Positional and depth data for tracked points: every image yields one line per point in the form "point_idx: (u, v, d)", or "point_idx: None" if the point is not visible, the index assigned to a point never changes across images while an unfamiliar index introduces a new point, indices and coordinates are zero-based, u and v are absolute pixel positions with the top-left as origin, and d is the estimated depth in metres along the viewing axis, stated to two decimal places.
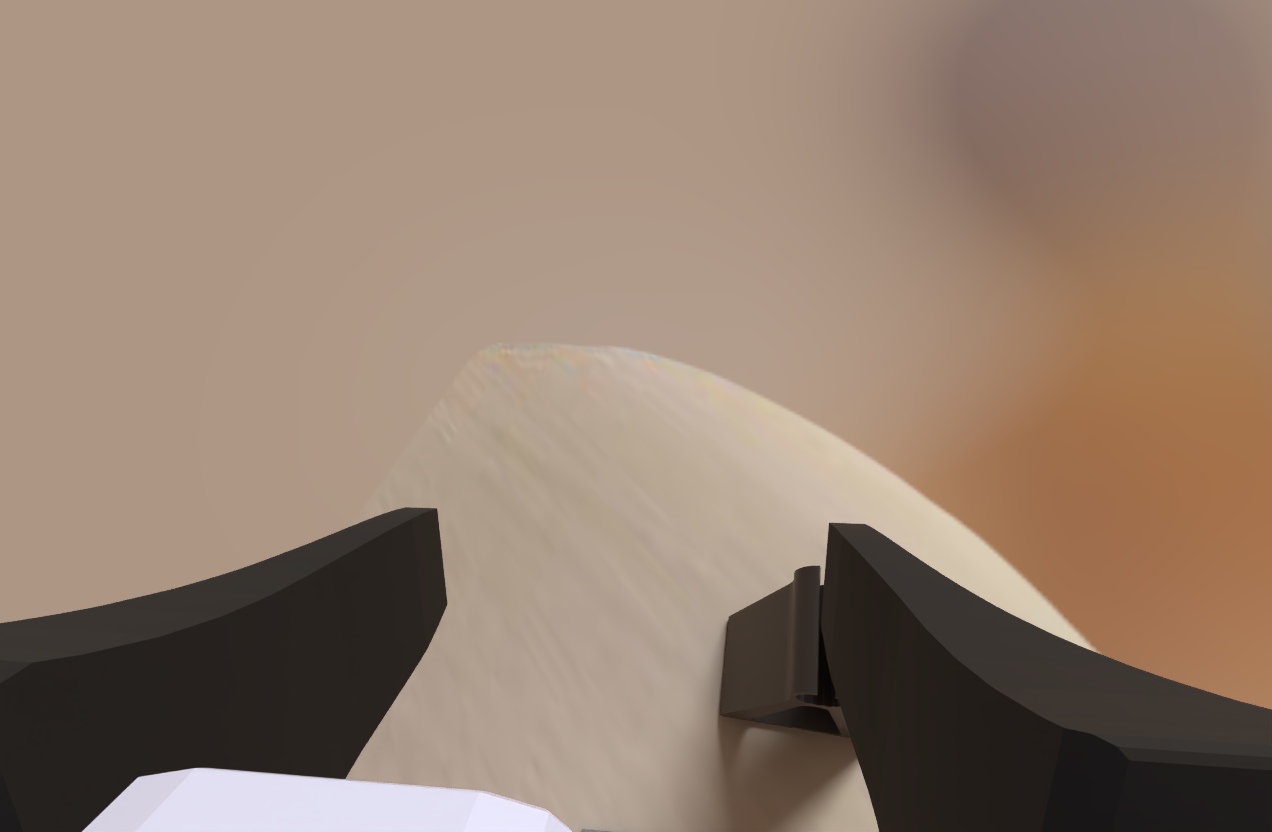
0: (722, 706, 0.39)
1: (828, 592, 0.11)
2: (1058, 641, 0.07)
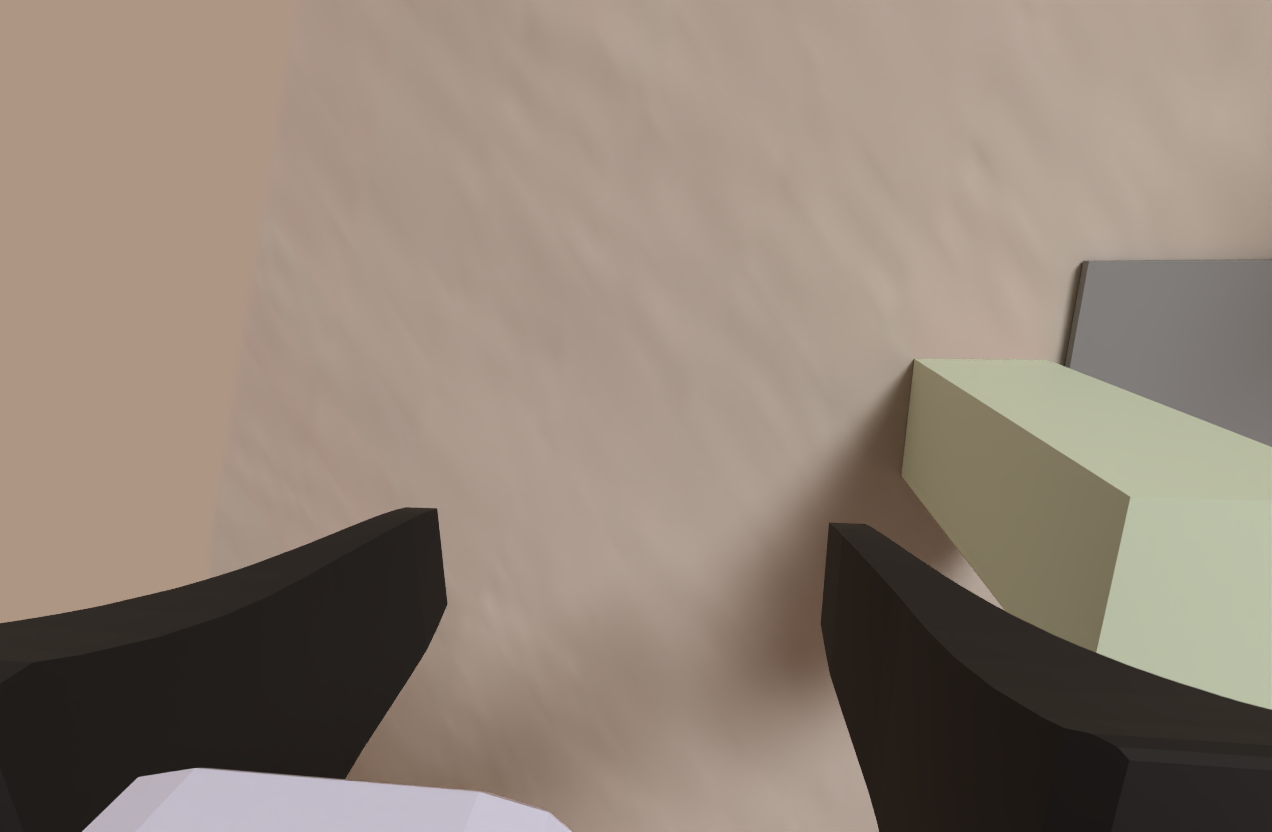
0: None
1: (828, 592, 0.11)
2: (1058, 641, 0.07)
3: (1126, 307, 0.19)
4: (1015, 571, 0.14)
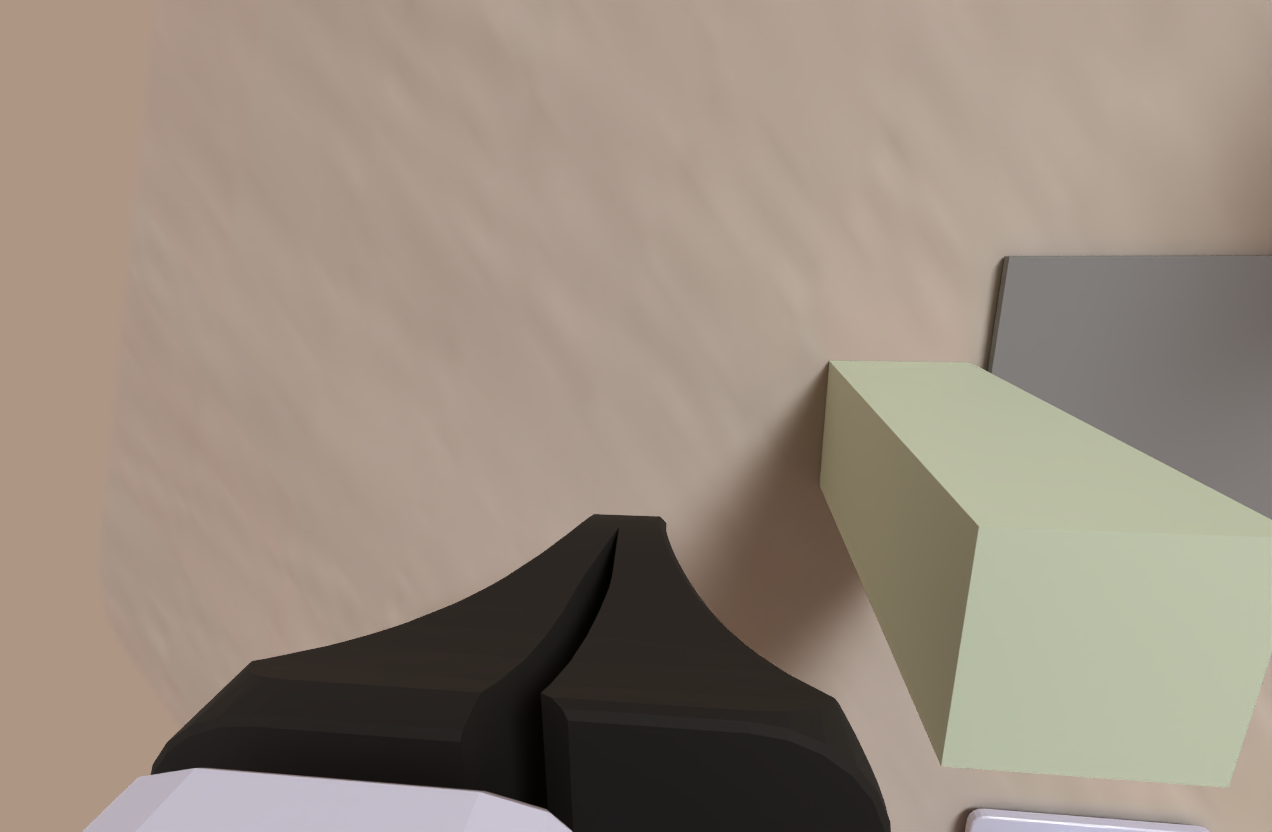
0: None
1: None
2: (711, 622, 0.07)
3: (1050, 306, 0.18)
4: (894, 599, 0.12)
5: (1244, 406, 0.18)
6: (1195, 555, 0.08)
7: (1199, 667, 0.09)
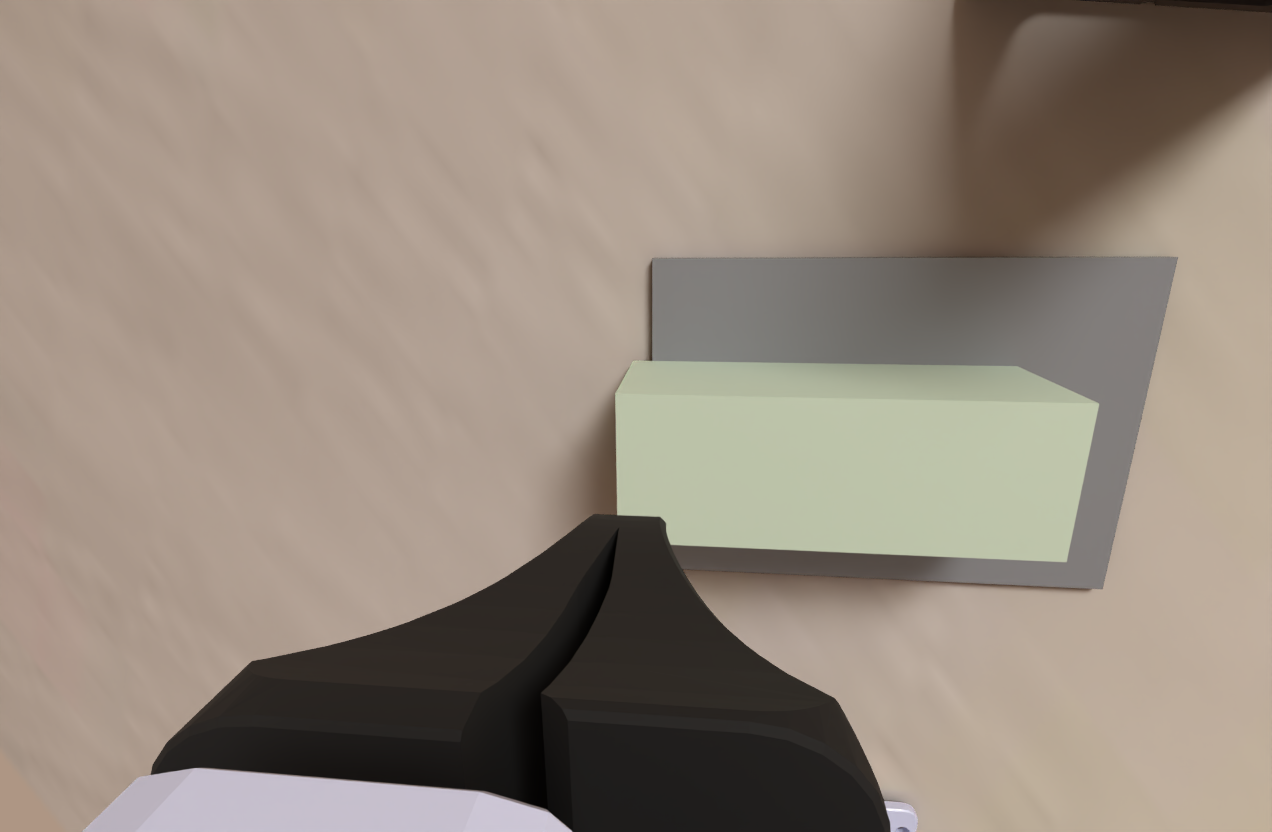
0: None
1: None
2: (711, 622, 0.07)
3: (695, 305, 0.19)
4: (946, 518, 0.16)
5: None
6: None
7: None
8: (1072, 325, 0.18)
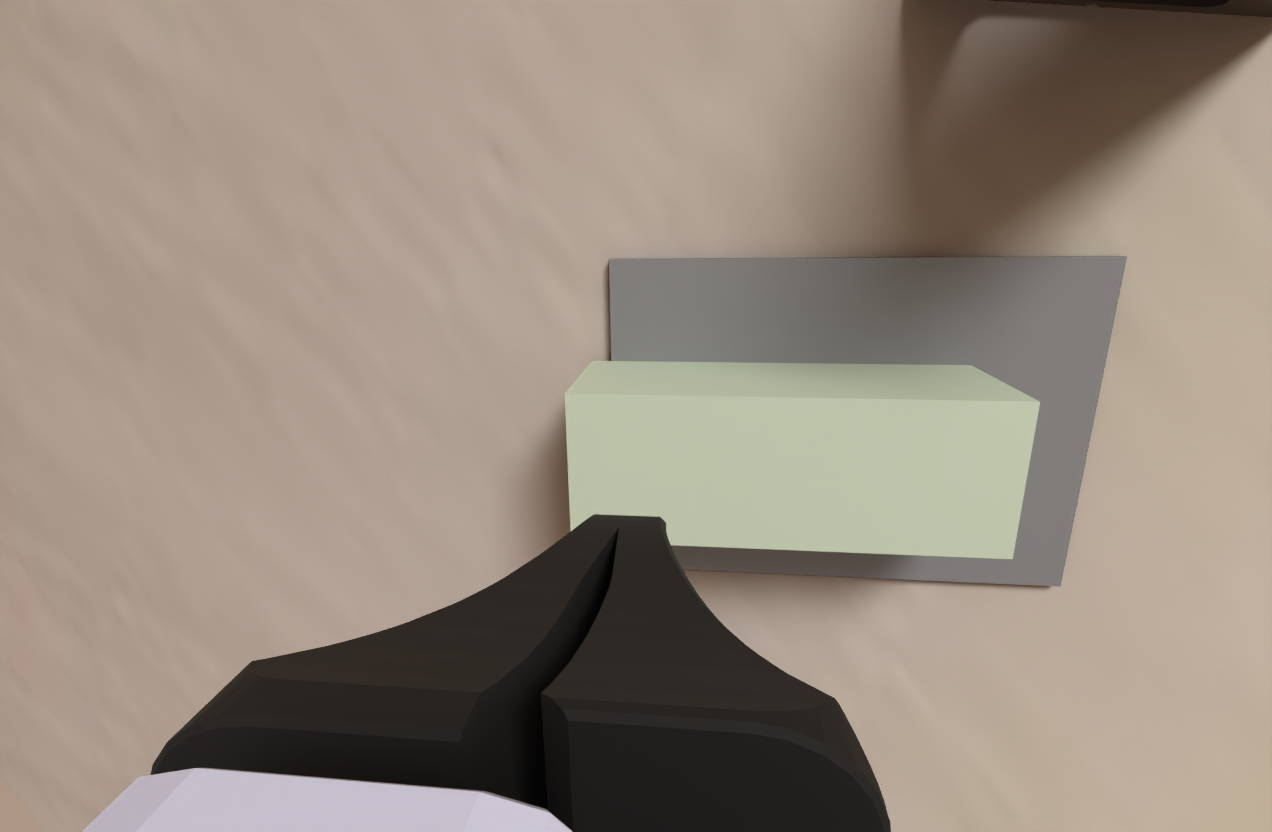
0: None
1: None
2: (711, 622, 0.07)
3: (652, 305, 0.19)
4: (893, 516, 0.16)
5: None
6: None
7: None
8: (1024, 324, 0.18)
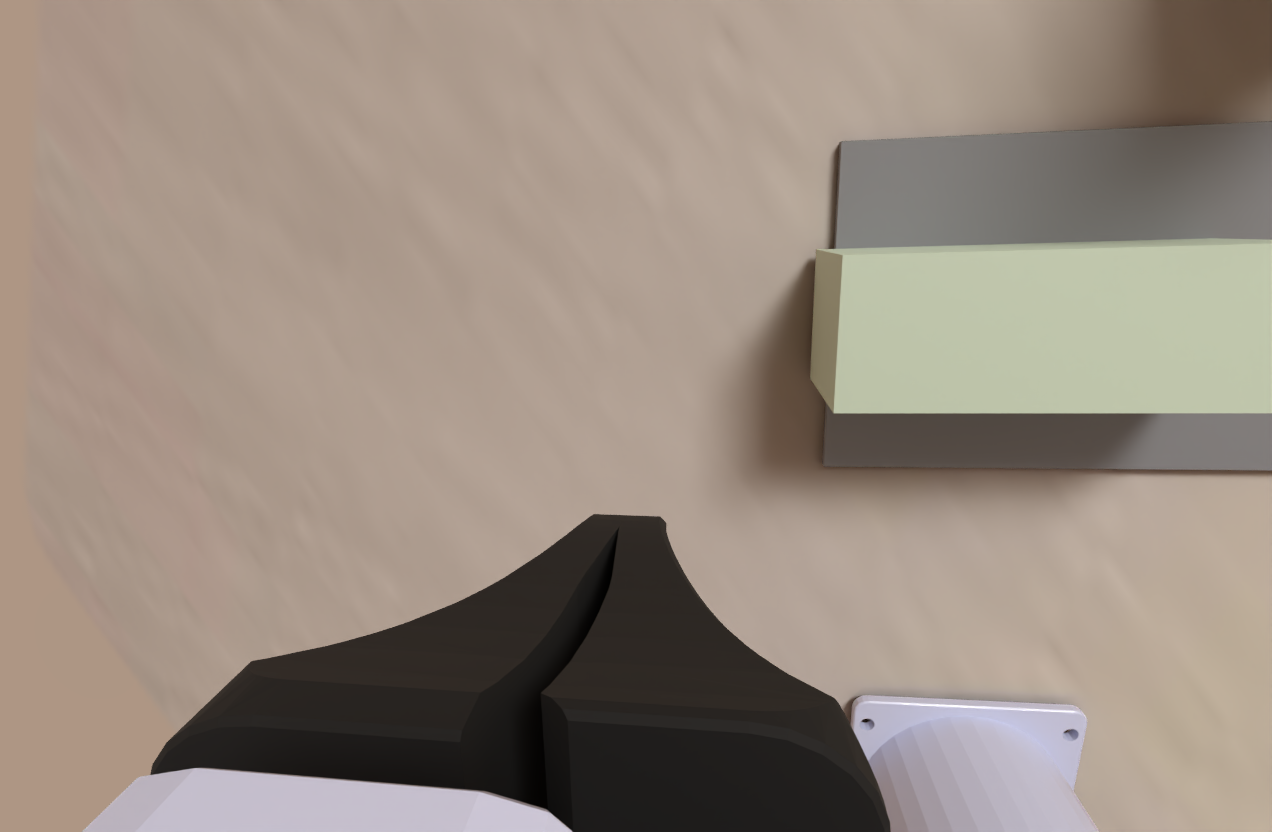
0: None
1: None
2: (711, 622, 0.07)
3: (884, 188, 0.19)
4: (1179, 372, 0.15)
5: None
6: None
7: None
8: None
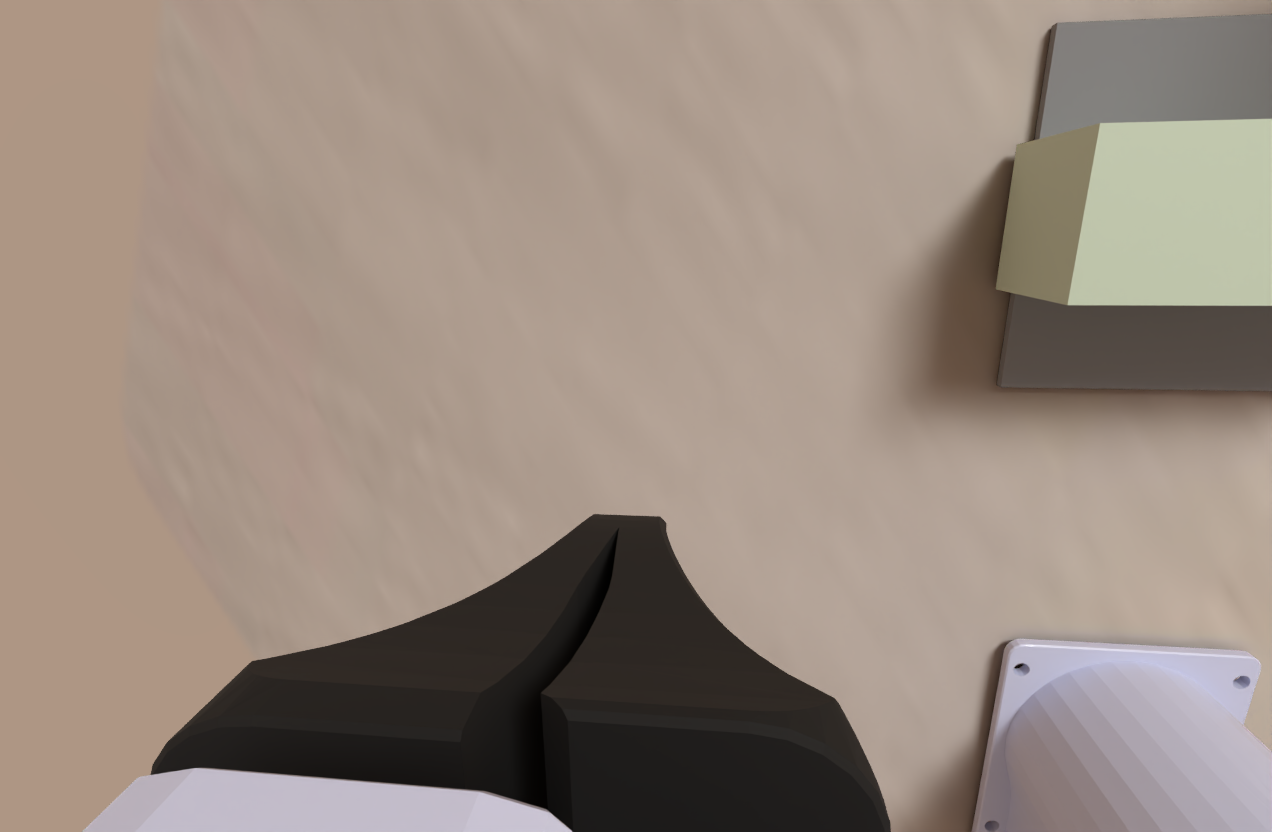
0: None
1: None
2: (711, 622, 0.07)
3: (1099, 76, 0.17)
4: None
5: None
6: None
7: None
8: None
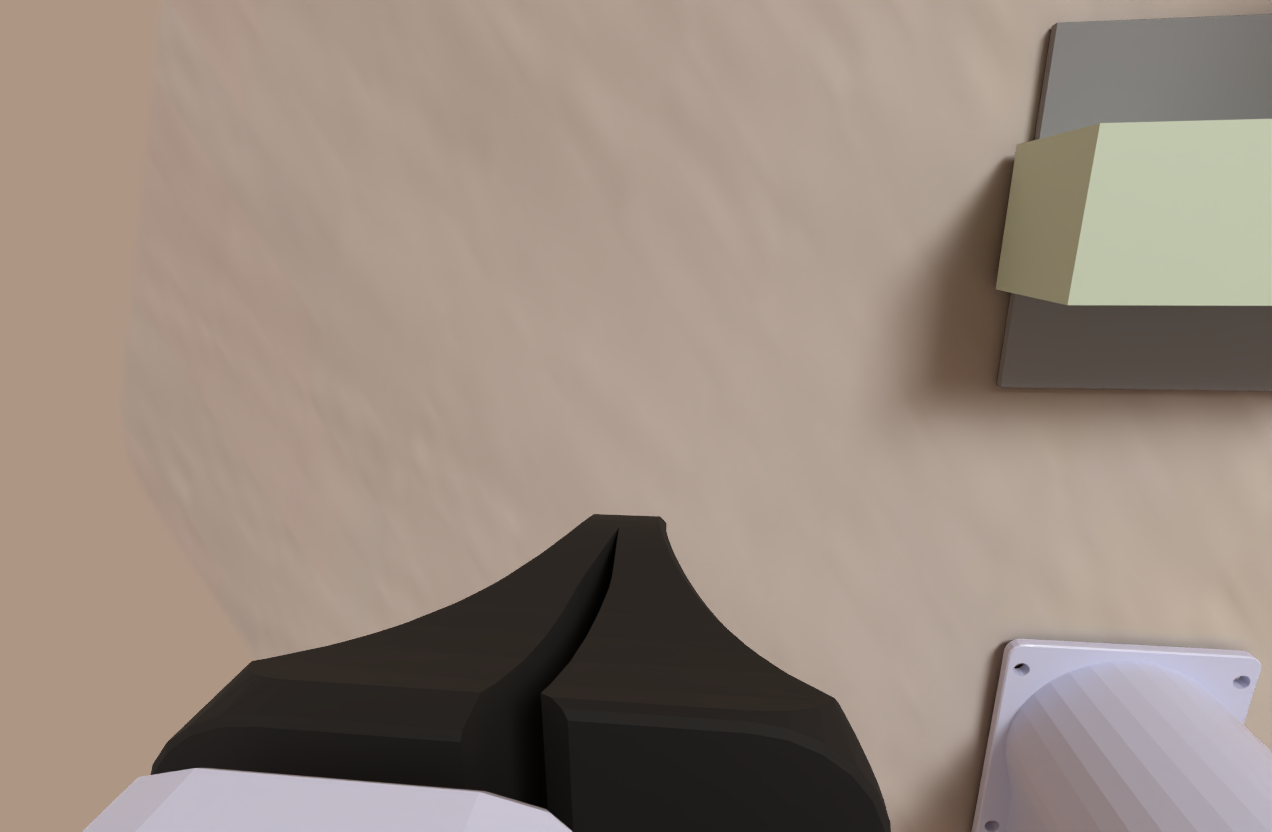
0: None
1: None
2: (711, 622, 0.07)
3: (1099, 76, 0.17)
4: None
5: None
6: None
7: None
8: None
